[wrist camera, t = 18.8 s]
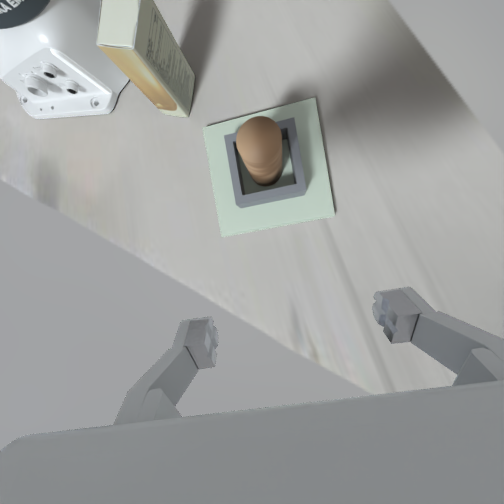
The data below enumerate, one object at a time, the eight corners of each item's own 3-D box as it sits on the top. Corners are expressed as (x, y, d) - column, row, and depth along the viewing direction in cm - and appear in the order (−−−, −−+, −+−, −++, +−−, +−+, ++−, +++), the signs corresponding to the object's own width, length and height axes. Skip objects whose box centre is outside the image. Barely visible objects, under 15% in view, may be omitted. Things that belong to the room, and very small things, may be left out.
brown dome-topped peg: (253, 189, 30) (240, 167, 22) (247, 157, 30) (232, 122, 21) (285, 182, 30) (285, 156, 21) (279, 150, 30) (277, 110, 21)
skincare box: (169, 73, 33) (102, -27, 21) (196, 76, 32) (143, -25, 20) (162, 117, 33) (92, 43, 21) (188, 120, 33) (132, 47, 20)
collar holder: (223, 237, 32) (214, 236, 28) (204, 131, 32) (193, 115, 28) (333, 216, 30) (340, 212, 26) (314, 102, 30) (318, 80, 26)
